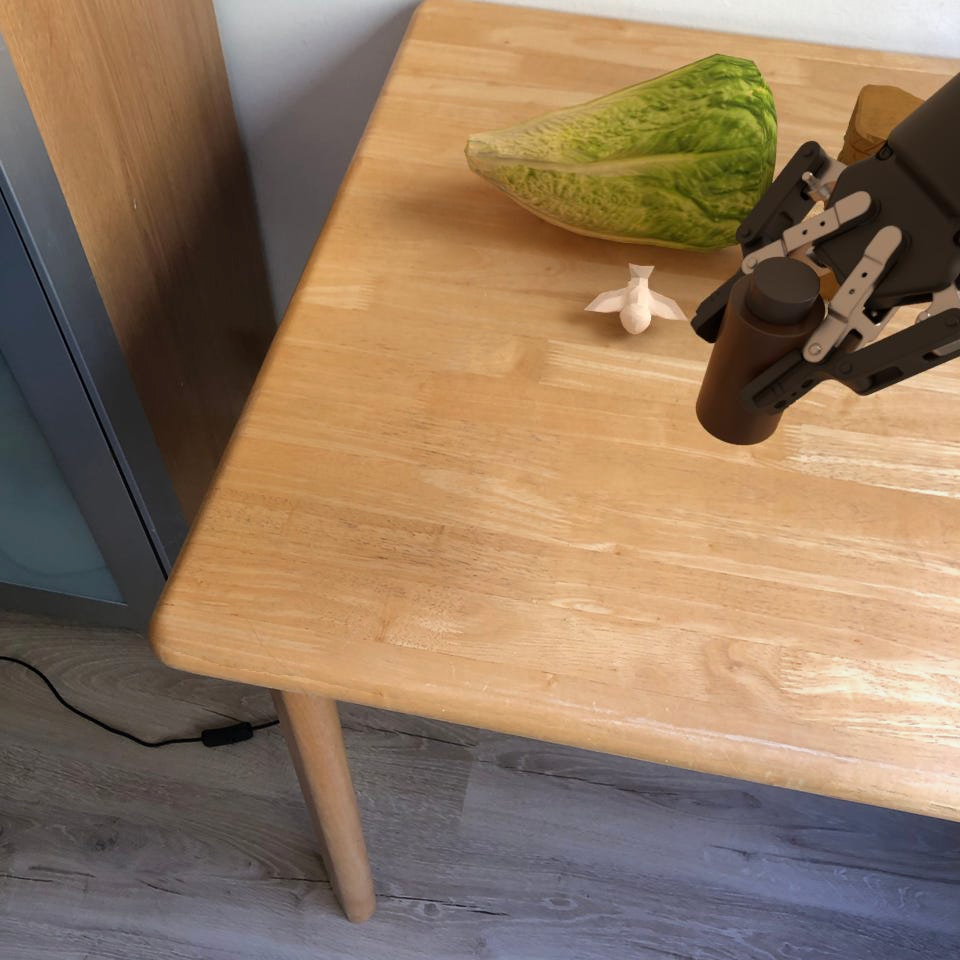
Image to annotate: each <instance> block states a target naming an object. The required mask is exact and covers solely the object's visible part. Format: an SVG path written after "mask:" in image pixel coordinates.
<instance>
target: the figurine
mask: <svg viewBox="0 0 960 960" xmlns="http://www.w3.org/2000/svg"><path fill="white" fill-rule="evenodd" d="M925 101H926V100H925V99H922V98H920V97H919V96H916V95H913V94H912V93H911V92H909V91H906V90H904V89H902V88H900V87H899V86H894V85H888V84H887V85H886V84H885V85H884V84H881V85H880V84H871V83H870V84H869V83H868V84H865V85H864V86H863V87H862V88H861V89H860V91H859V93H858V96H857V99H856V102H855V105H854V107H853V111H852V112H851V115H850V118H849V121H848V126H847V129H846V131H845V134H844V136H843V145H842V149H841V150H840V152H839V153H838V155H837V156H836V157H837V159H836V160H837V161H839V162H841V163H843V164H845V165H847V166H849V165H850V164H852V163H854V162H857V161H860V160H863V159H865V158H868V157H870V156H872V155H873V154H875V153H876V152H878V151H879V150H880V149H881V148H882V146H883V145H884V143H885V142H886V140H887V138H888V136H889V134H890V132H891V131H892V129H894V128H895V127H896V126H897V125H898V124H899V123H900V122H902V121H903V120H904V119H905V118H906V117H907V116H909V115H910V114H911V113H912V112H913V111H915V110H916V109H917V108H918V107H919V106H920V105H922V104H923V103H924V102H925ZM831 194H832V192H831V193H830V196H831ZM830 196H829V198H828V199H827V200H826V201H822V202H823V208H822V209H823V212H824V211H825V209H826V206H827V204H828V201H829V199H830ZM812 247H814V246H812ZM814 248H815V247H814ZM819 279H820V284H821V285H820V291H819V293H820V294H821V296H822V298H823V300H827V301H831V300H832V298H833V297H834V296H835V294H836V293H837V292H838V290H839V289H840V288H841V286H840V285H839V284H838V283H837V280H836V278H835V275H834V274H833V273H832V272H829V273H827V274H825V275H823V276H820V277H819Z"/></svg>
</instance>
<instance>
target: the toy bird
mask: <svg viewBox="0 0 960 960" xmlns="http://www.w3.org/2000/svg"><path fill="white" fill-rule="evenodd" d="M628 267H629V272H630V277H631V278H630V281H629V280H628V281H627V284H626V287H623V288H618V289H614V290H609V291H605V292H601V293H599V295H597V296H596V297H595V298H594V299H593V300H592V301H591V302H590V303H589V304H588V305H587V306H586V307H585V308H584V309H583V310H584V311H591V312H597V313H603V314H609V313H619V319H620V322H621V325H622V327H623V328H624V329H625V330H626V332H628V333H630V334H631V335H637V334H641V333H642V332H644V331H646V329H647V328H648V327H649V325H651V320H652V316H654V317H659V318H661V319H664V320H671V321H672V320H675V321H676V320H677V321H688V318H687V317H686V315H685V314H684V312H683V311H682V309H681V308H680V307H679V304H677V302H676V300H675V299H672V298H669V297H667V296H666V295H665V296H664V295H663V294H660V293H658V292H655V291H654V290H652V289H651V288H649V278H650V276H651V274H652V273H653V270H654V268H655V265H639V264H636V263H635V264H634V263H630V262H629V263H628Z"/></svg>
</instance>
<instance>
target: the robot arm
mask: <svg viewBox="0 0 960 960" xmlns="http://www.w3.org/2000/svg"><path fill="white" fill-rule="evenodd" d="M831 192H832V194H831V196H830V193H831ZM829 196H830V199H829V201H828V204H827V206H826V209H825V211H824V210H823V211H822V212H820V213H818V214H816V215H813V216H812V217H810V218H807V219H806V217H807V215H808V214H809V213H810V212H811V211H812V210H813V208H814V207H815V206H816V205H817V203H818V202H820V201H822V202H823V201H826V200H827V199H828V198H829ZM804 219H806V220H804ZM735 237H736V240H737V241H738V242H739V243H740V244H739V245H740V248H741V254H742V261H741V262H742V263H741V266H740V267H739V269H738V270H737V271H736V272H735V273H734V274H733V275H731V276H730V277H729V278H728V279H727V280H726V281H725V282H723V284H722V285H720V286H718V288H716V290H714V291H713V292H712V293H711V294H710V295H708V296H707V297H706V298H705V299H703V301H700V304H699V305H698V306H697V308H696V309H695V316H693V317H692V318H691V320H690V322H689V326H690V327H691V328H692V330H693V331H694V333H695V335H697V336H698V337H699V338H700V339H702V340H703V341H705V342H706V343H708V344H711V345H712V344H715V341H716V337H717V334H718V331H719V328H720V325H721V322H722V318H723V315H724V312H725V309H726V306H727V302H728V299H729V296H730V293H731V290H732V288H733V286H734V284H735V283H736V282H737V281H738V280H739V279H740V278H742V277H743V276H745V275H747V274H749V273H752V272H753V270H754V268H755V267H756V265H757V264H758V263H759V262H761V261H763V260H765V259H767V258H771V257H789V258H794V259H797V260H799V261H802V262H804V263H805V264H807V265H809V266H810V267H811V268H812V269H813V270H814V271H815V272H816V273H817V275H818V277H820V276H823V275H825V274H827V273H829V272H832V273H833V274H834V275H835V278H836V280H837V283H838V284H839V285H840V286H841V288H840V289H839V290H838V292H837V293H836V294H835V296H834V297H833V298H832V300H829V303H828V305H827V313H826V315H825V318H824V320H823V321H822V323H821V324H820V325H819V327H818V328H817V329H816V331H815V332H814V333H813V335H812V336H811V337H810V339H809V340H808V341H807V343H806V344H805V346H804V348H803V351H802V352H799V351H798V350H797V349H795V348H794V349H793V350H791V351H790V352H789V353H787V354H786V355H785V356H783V357H782V358H781V359H780V360H778V361H777V362H776V363H775V364H773V365H772V366H771V367H769V368H768V369H767V370H766V371H764V372H763V373H762V374H761V375H759V376H758V377H757V378H755V379H754V380H753V381H752V382H750V383H749V384H748V385H747V386H745V387H744V388H743V389H741V390H740V391H739V392H738V394H737V399H738V401H739V402H740V404H741V405H742V407H743V408H744V409H745V410H747V411H748V412H750V413H751V414H753V415H755V416H762V415H764V414H768V415H769V416H773V415H776V414H779V413H781V412H783V411H784V412H785V410H787V409H788V408H789V407H790V406H792V405H794V404H795V403H796V402H797V401H798V400H800V399H801V398H803V397H804V396H805V395H806V394H808V393H810V391H812V390H813V389H814V388H816V387H817V386H818V385H820V384H821V383H823V382H825V381H836V382H839V384H841V385H843V386H845V387H847V388H848V389H850V390H851V391H852V392H854V394H856V395H858V396H860V397H867V396H868V397H869V396H870V395H873V394H875V393H878V392H880V391H882V390H885V389H886V388H889V387H891V386H894V385H896V384H898V383H901V382H903V381H906V380H908V379H910V378H912V377H915V376H917V375H919V374H922V373H924V372H927V371H929V370H932V369H935V368H936V367H939V366H941V365H943V364H945V363H948V362H949V361H953V360H956V359H958V358H960V71H959V72H957V73H956V74H955V75H954V76H953V77H952V78H950V79H949V80H948V81H947V82H946V83H945V84H943V85H942V86H941V87H940V88H939V89H938V90H937V91H935V92H934V93H933V94H932V95H931V96H930V97H928V98H927V99H926V100H925V102H924V103H923V104H922V105H920V106H919V107H918V108H917V109H916V110H915V111H913V112H912V113H911V114H910V115H909V116H907V117H906V118H905V119H904V120H903V121H902V122H900V123H899V124H898V125H897V126H896V127H895V128H894V129H892V131H891V132H890V134H889V136H888V138H887V140H886V142H885V143H884V145H883V146H882V148H881V149H880V150H879V151H878V152H876V153H875V154H873V155H872V156H870V157H868V158H865V159H863V160H860V161H857V162H854V163H852V164H850V165H849V166H847V165H845V164H843V163H841V162H839V161H837V159H835V158H834V157H832V156H830V155H829V154H828V153H827V152H826V151H825V150H824V148H823V147H822V146H821V145H820V144H819V142H817V141H816V140H808V141H806V142H804V143H803V144H802V145H800V147H799V148H798V149H797V150H796V152H795V153H794V154H793V155H792V157H791V158H790V160H789V161H788V162H787V163H786V165H785V166H784V167H783V168H782V170H781V171H780V172H779V173H778V175H777V176H776V178H775V179H773V182H772V184H771V186H770V187H769V188H768V189H767V191H766V192H765V193H764V195H763V196H762V197H761V199H760V200H759V201H758V202H757V204H756V205H755V206H754V208H753V209H752V210H751V212H750V213H749V214H748V215H747V217H746V218H745V219H744V221H743V222H742V223H741V225H740V226H739V227H738V229H737V231H736V234H735ZM812 246H814V247H815V248H814V247H812ZM929 303H930V305H929V306H928V307H927V308H926V309H924V310H923V311H920V312H919V313H918V315H917V316H916V318H915V320H914V324H912V325H909V326H908V327H905V328H903V329H901V330H899V331H896V332H895V333H893V334H890V335H888V336H886V337H884V338H882V339H879V340H877V338H878V337H879V336H880V334H881V333H882V332H883V330H884V329H885V328H886V326H887V325H888V324H889V322H891V320H892V319H893V318H894V316H895V315H896V314H897V312H898V311H899V309H900V308H901V307H907V306H915V305H921V304H929ZM875 340H877V341H875ZM873 341H875V342H873ZM868 343H871V344H868ZM866 344H868V345H866ZM865 345H866V346H865ZM784 412H783V413H784Z"/></svg>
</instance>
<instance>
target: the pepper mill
mask: <svg viewBox="0 0 960 960" xmlns="http://www.w3.org/2000/svg"><path fill="white" fill-rule="evenodd" d="M820 285H821V284H820V279H819V277H818V275H817V273H816V272H815V271H814V270H813V269H812V268H811V267H810V266H809V265H807V264H805V263H804V262H802V261H799V260H797V259H794V258H789V257H771V258H767V259H765V260H763V261H761V262H759V263H758V264H757V265H756V267H755V268H754V270H753V272H752V273H749V274H747V275H745V276H743V277H742V278H740V279H739V280H738V281H737V282H736V283H735V284H734V286H733V288H732V290H731V293H730V296H729V299H728V302H727V306H726V309H725V312H724V315H723V318H722V322H721V325H720V328H719V331H718V334H717V337H716V341H715V343H713V348H712V351H711V354H710V357H709V361H708V364H707V366H706V369H705V372H704V376H703V378H702V379H703V380H702V382H701V386H700V389H699V392H698V394H697V399H696V402H695V414H696V417H697V420H698V422H699V424H700V425H701V427H702V428H703V429H704V430H705V431H706V432H707V433H708V434H709V435H711V436H712V437H713V438H715V439H717V440H719V441H721V442H723V443H726V444H729V445H734V446H754V445H757V444H760V443H763V442H765V441H767V440H768V439H769V438H770V437H772V436H773V435H774V434H775V432H776V430H777V429H778V426H779V424H780V422H781V419H782V417H783V414H784V412H785V410H784V411H783V412H781V413H779V414H776V415H773V416H769V415H768V414H764V415H762V416H755V415H753V414H751V413H750V412H748V411H747V410H745V409H744V408H743V407H742V405H741V404H740V402H739V401H738V399H737V394H738V392H739V391H740V390H741V389H743V388H744V387H745V386H747V385H748V384H749V383H750V382H752V381H753V380H754V379H755V378H757V377H758V376H759V375H761V374H762V373H763V372H764V371H766V370H767V369H768V368H769V367H771V366H772V365H773V364H775V363H776V362H777V361H778V360H780V359H781V358H782V357H783V356H785V355H786V354H787V353H789V352H790V351H791V350H793V349H794V348H795V349H797V350H798V351H799V352H802V351H803V348H804V346H805V344H806V343H807V341H808V340H809V339H810V337H811V336H812V335H813V333H814V332H815V331H816V329H817V328H818V327H819V325H820V324H821V323H822V321H823V320H824V319H825V317H826V315H827V313H826V311H827V308H826V303H825V301H824V300H825V299H824V298H822V296H821V294H820V293H819V291H820Z"/></svg>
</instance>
